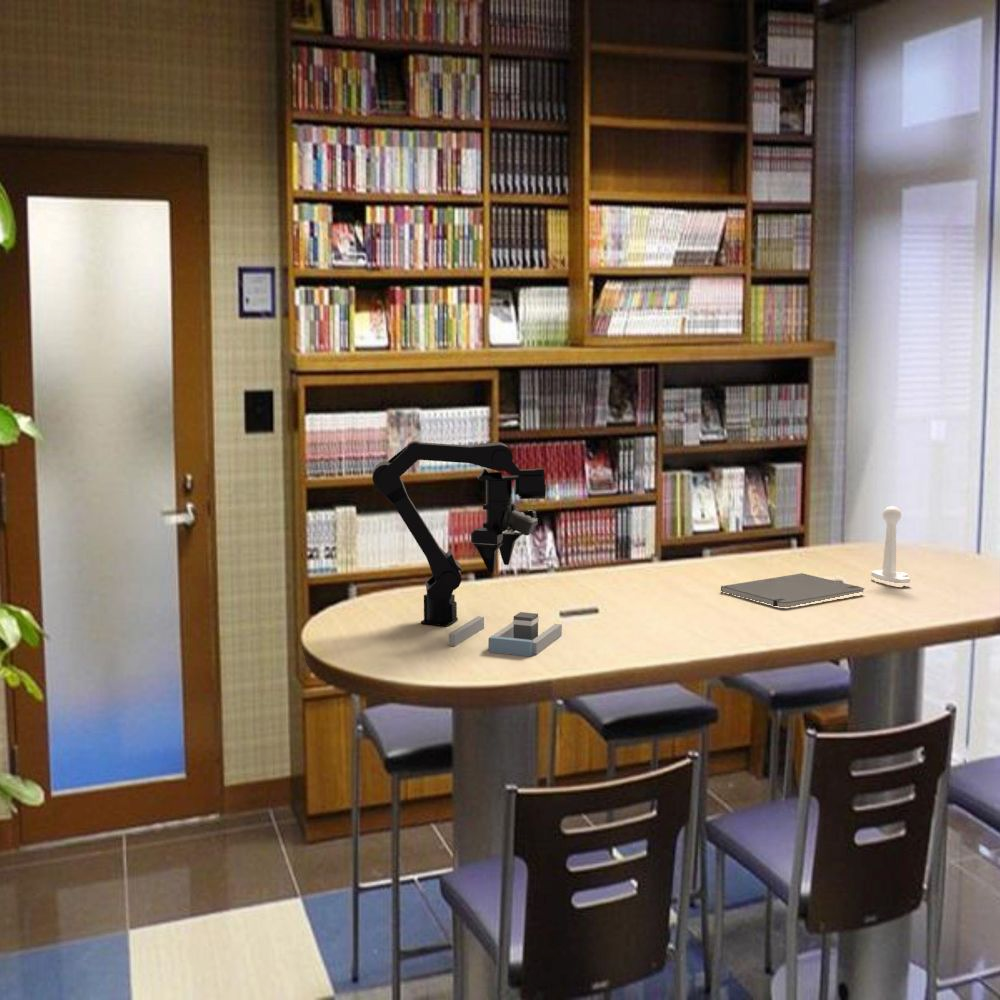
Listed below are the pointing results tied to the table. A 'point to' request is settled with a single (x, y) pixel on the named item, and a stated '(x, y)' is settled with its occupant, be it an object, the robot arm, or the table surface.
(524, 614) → the grey capped block
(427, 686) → the table surface
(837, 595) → the notebook
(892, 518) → the joystick
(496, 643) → the grey rectangular bars
